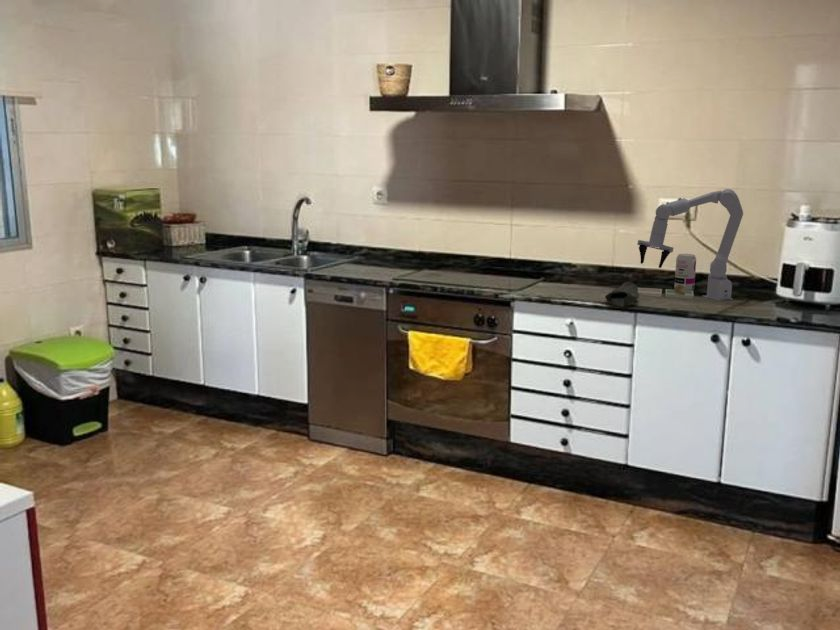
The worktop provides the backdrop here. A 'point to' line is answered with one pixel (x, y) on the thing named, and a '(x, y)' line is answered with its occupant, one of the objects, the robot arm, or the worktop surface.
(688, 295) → the sage tray
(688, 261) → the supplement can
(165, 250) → the worktop surface
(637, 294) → the dark grey rubber slipper
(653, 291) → the white tray
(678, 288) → the letter cube
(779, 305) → the worktop surface
